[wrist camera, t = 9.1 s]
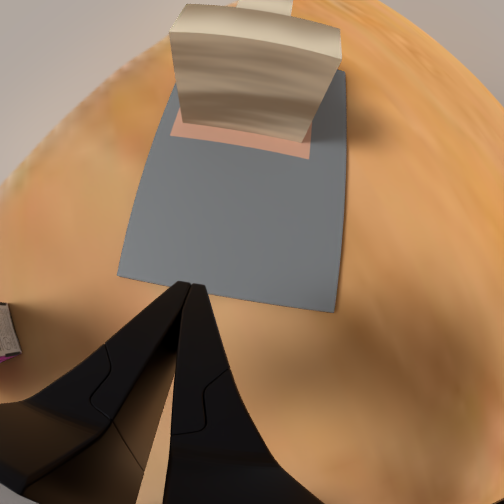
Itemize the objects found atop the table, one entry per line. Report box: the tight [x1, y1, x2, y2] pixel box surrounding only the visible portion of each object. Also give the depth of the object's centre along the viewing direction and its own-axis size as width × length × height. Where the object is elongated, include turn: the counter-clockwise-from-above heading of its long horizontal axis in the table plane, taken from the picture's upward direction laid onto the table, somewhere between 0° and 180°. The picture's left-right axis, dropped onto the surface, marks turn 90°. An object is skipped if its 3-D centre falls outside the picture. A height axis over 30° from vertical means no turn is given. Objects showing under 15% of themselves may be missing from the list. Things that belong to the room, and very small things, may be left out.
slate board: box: [117, 70, 346, 313], centre depth 23 cm, size 24×16×1 cm, turn 171°
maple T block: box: [169, 0, 342, 143], centre depth 19 cm, size 9×10×10 cm
